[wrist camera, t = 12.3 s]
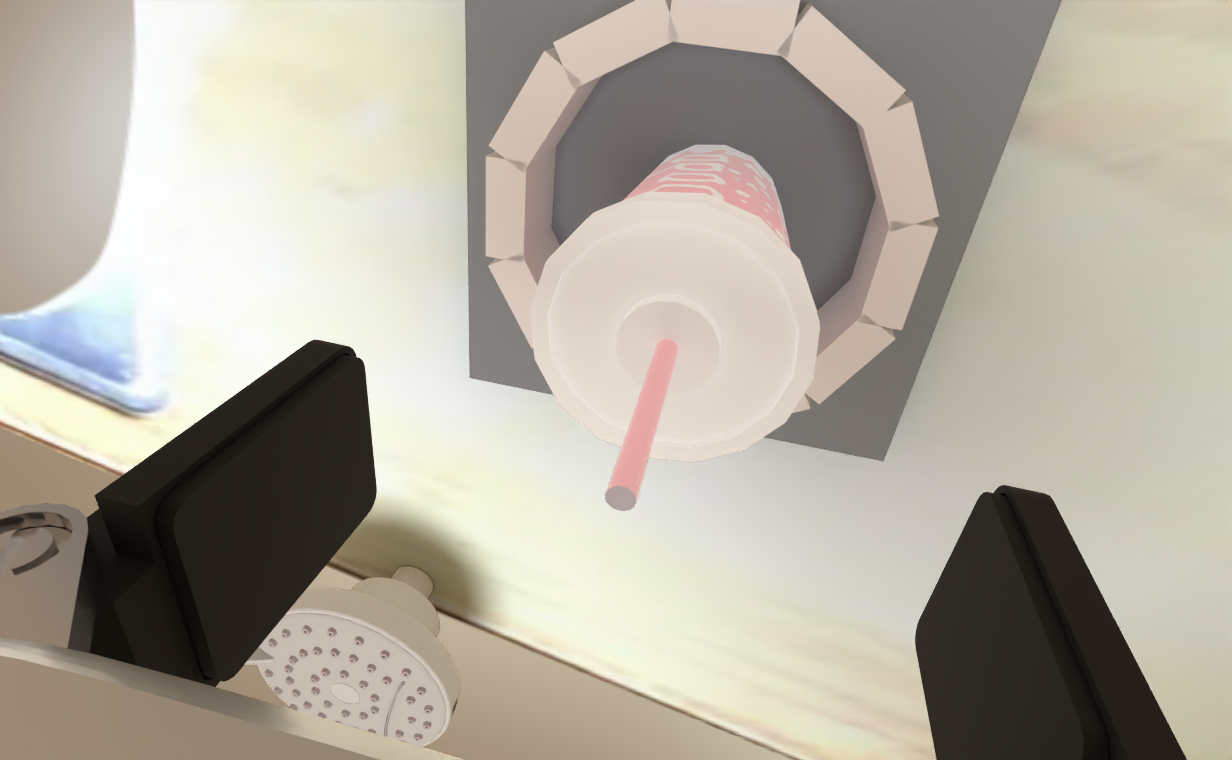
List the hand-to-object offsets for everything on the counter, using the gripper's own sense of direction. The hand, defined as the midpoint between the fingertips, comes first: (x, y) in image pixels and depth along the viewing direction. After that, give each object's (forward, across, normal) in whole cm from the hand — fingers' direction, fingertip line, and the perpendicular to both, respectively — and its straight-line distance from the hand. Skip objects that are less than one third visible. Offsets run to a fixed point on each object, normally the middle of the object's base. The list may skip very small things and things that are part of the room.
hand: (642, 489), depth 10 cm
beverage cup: (+14, 0, 0) cm, 14 cm away
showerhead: (+15, +13, +22) cm, 29 cm away
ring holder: (+15, +1, 0) cm, 15 cm away
